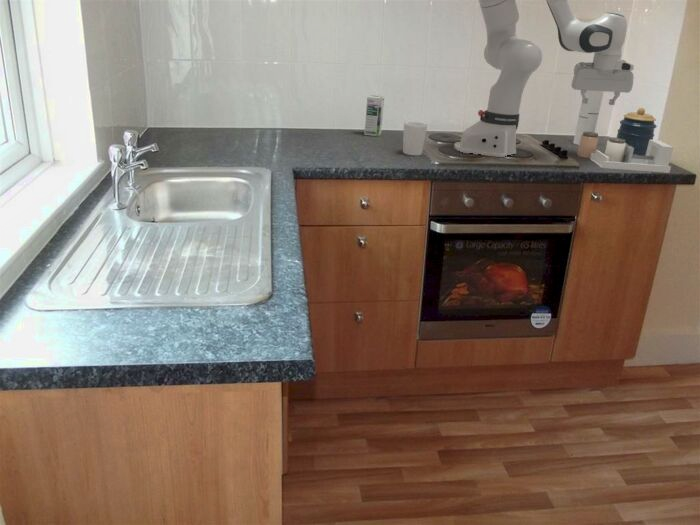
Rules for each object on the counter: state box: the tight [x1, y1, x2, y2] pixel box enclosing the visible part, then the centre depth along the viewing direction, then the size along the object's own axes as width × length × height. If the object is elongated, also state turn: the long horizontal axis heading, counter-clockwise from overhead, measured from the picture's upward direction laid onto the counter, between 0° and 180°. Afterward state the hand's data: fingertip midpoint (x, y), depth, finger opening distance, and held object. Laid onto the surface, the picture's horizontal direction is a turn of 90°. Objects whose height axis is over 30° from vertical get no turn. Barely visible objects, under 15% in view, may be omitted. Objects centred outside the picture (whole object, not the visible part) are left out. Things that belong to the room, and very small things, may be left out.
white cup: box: [402, 121, 428, 156], centre depth 218 cm, size 8×8×10 cm
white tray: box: [589, 139, 674, 174], centre depth 222 cm, size 23×13×9 cm, turn 89°
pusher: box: [622, 144, 654, 163], centre depth 222 cm, size 10×10×7 cm
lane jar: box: [604, 136, 626, 162], centre depth 222 cm, size 6×6×9 cm
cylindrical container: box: [572, 90, 605, 146], centre depth 252 cm, size 7×7×25 cm
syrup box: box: [363, 94, 385, 137], centre depth 242 cm, size 6×6×14 cm
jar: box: [577, 132, 600, 159], centre depth 232 cm, size 6×6×9 cm
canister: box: [616, 107, 658, 155], centre depth 241 cm, size 13×13×18 cm
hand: (597, 104), depth 226 cm, fingers open, 8 cm apart
